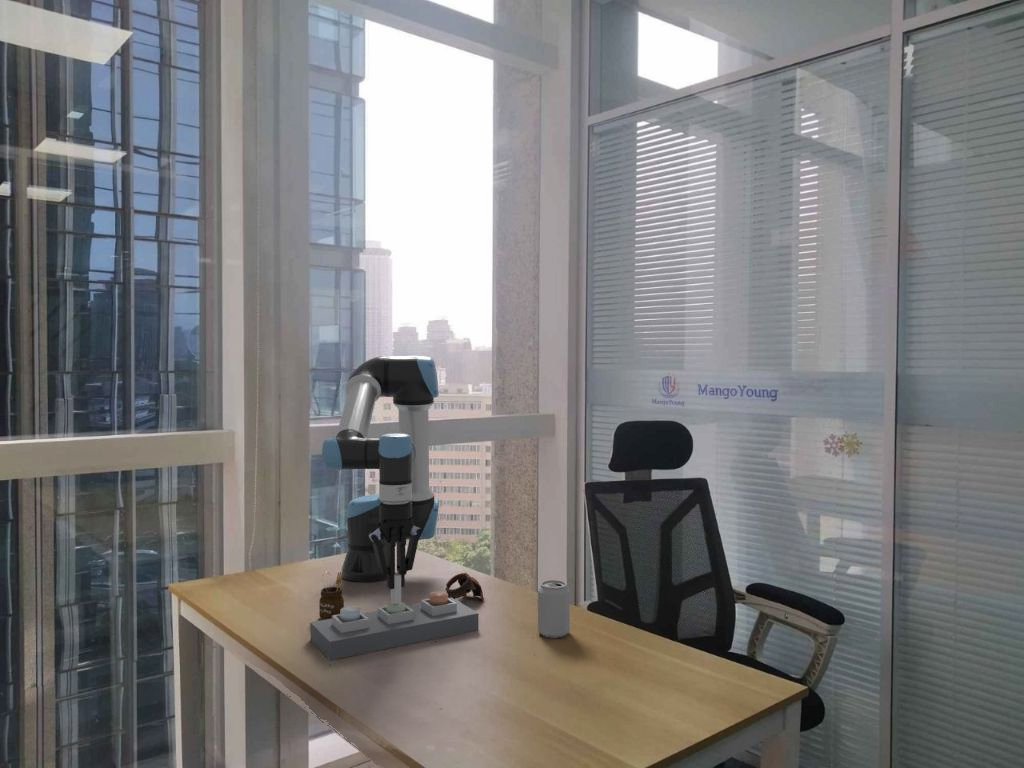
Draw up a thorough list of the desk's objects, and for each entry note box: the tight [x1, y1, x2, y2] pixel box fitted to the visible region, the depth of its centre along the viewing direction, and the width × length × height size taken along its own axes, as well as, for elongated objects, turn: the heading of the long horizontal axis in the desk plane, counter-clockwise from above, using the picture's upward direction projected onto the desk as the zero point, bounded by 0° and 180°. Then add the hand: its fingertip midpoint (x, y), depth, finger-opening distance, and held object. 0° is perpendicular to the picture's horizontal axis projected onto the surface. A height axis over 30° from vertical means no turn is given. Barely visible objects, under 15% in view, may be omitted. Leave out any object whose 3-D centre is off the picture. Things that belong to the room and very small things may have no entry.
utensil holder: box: [318, 570, 345, 620], centre depth 194 cm, size 6×6×12 cm
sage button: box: [385, 601, 406, 614], centre depth 183 cm, size 4×4×2 cm
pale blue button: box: [340, 605, 361, 622], centre depth 177 cm, size 4×4×2 cm
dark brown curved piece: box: [445, 572, 485, 603], centre depth 209 cm, size 12×10×8 cm
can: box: [537, 579, 571, 639], centre depth 184 cm, size 8×8×12 cm
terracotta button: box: [429, 590, 448, 605], centre depth 188 cm, size 4×4×2 cm
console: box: [309, 598, 479, 661], centre depth 183 cm, size 14×36×6 cm, turn 121°
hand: (396, 601), depth 183 cm, fingers closed
